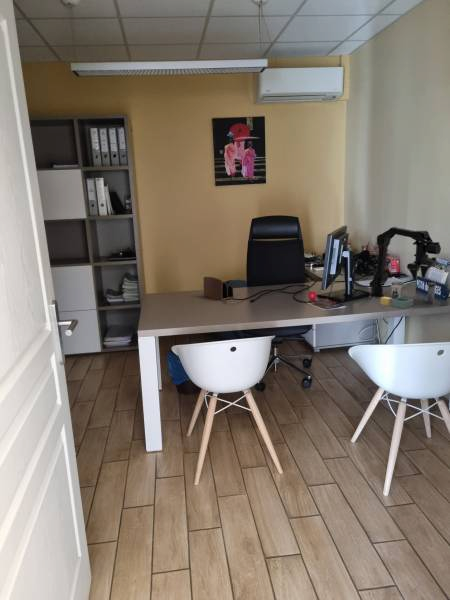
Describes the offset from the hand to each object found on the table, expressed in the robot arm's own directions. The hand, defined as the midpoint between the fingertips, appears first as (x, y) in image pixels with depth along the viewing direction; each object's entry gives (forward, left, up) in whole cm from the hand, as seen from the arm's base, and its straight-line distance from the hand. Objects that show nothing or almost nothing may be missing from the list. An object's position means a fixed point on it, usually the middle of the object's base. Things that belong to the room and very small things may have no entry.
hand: (419, 279), depth 273 cm
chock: (-11, -15, -15) cm, 24 cm away
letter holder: (-98, -75, -15) cm, 125 cm away
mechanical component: (-14, +4, -15) cm, 21 cm away
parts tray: (-3, -12, -15) cm, 19 cm away
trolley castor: (-11, -5, -15) cm, 19 cm away
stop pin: (+5, +5, -15) cm, 16 cm away
